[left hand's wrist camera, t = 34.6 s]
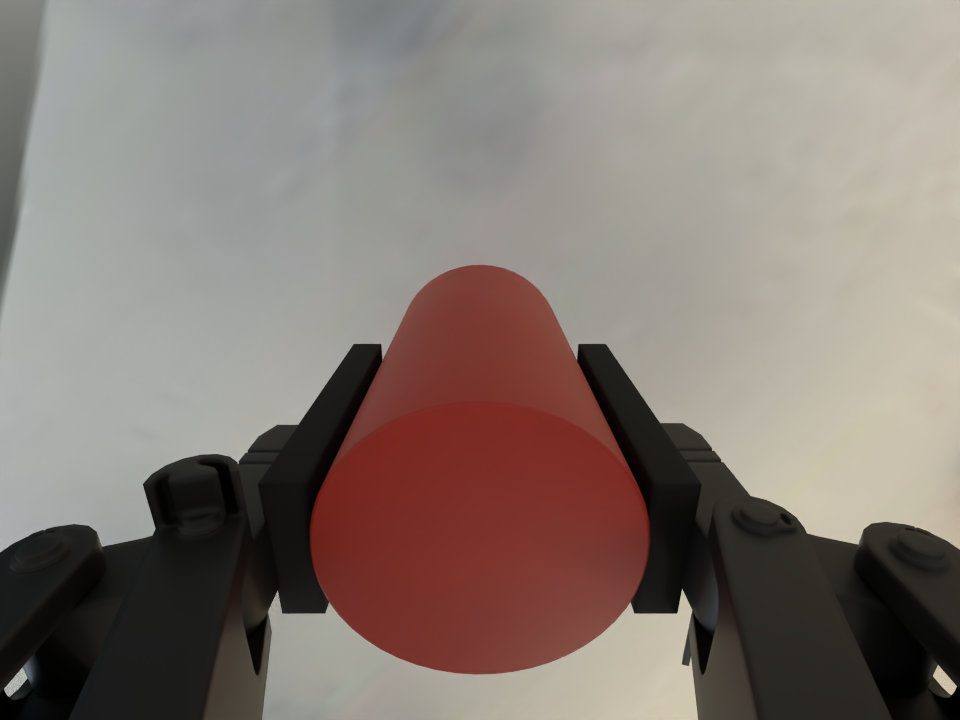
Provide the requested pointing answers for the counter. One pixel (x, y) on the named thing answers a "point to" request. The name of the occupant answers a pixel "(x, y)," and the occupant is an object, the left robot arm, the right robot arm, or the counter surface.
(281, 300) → the counter surface
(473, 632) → the can
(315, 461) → the left robot arm
